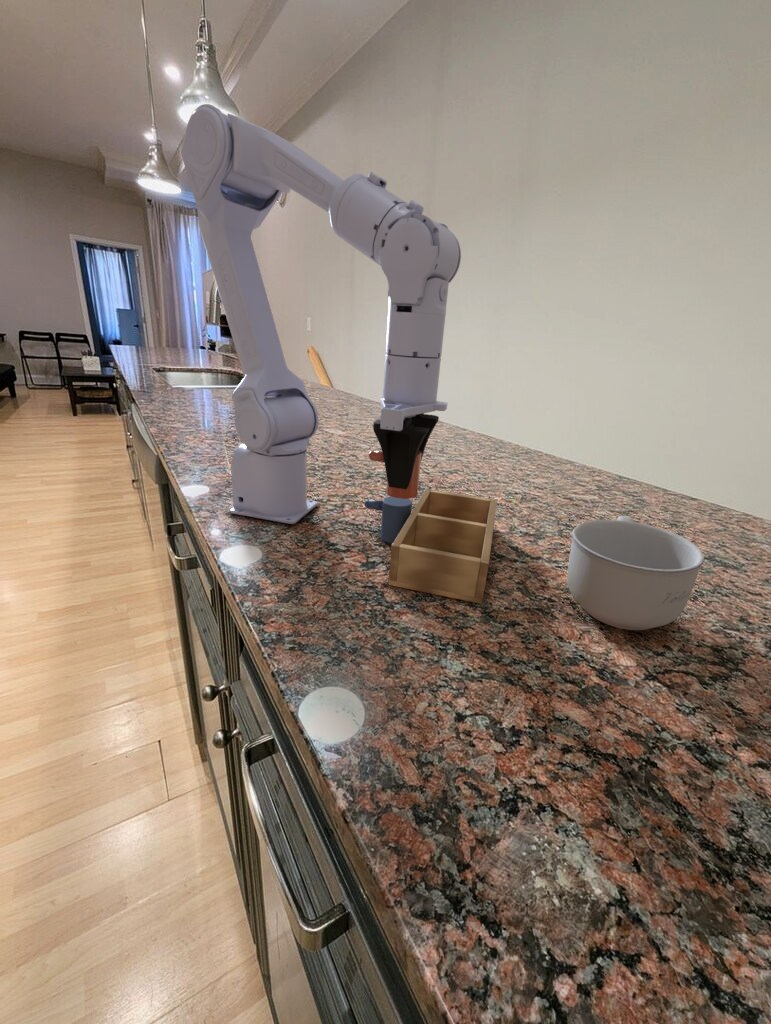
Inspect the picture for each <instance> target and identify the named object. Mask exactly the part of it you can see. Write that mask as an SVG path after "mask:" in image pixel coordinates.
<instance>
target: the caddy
mask: <svg viewBox="0 0 771 1024" xmlns="http://www.w3.org/2000/svg"><path fill="white" fill-rule="evenodd" d="M497 504H498V499H493V498H487V497H481V496H473V495H468V494H460V493H453V492H448V491H441V490H434V489H426V488H425V490H424V491H423V493H422V494H421V496H420V498H419V499H418V500H417V503H416V504H415V506H414V508H413V509H412V510H411V514H410V516H409V518H408V519H407V521H406V523H405V524H404V526H403V528H402V529H401V531H400V533H399V534H398V536H397V537H396V539H395V541H394V542H393V543H391V547H390V558H389V559H390V560H389V574H388V585H389V586H392V587H393V586H394V587H398V588H401V589H408V590H412V591H417V592H422V593H426V594H431V595H437V596H442V597H445V598H449V599H456V600H461V601H465V602H470V603H475V604H479V605H482V604H483V601H484V595H485V589H486V582H487V577H488V571H489V566H490V560H491V559H490V558H491V552H492V551H491V550H492V544H493V537H494V536H493V535H494V529H495V521H496V520H495V519H496V511H497Z"/></svg>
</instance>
